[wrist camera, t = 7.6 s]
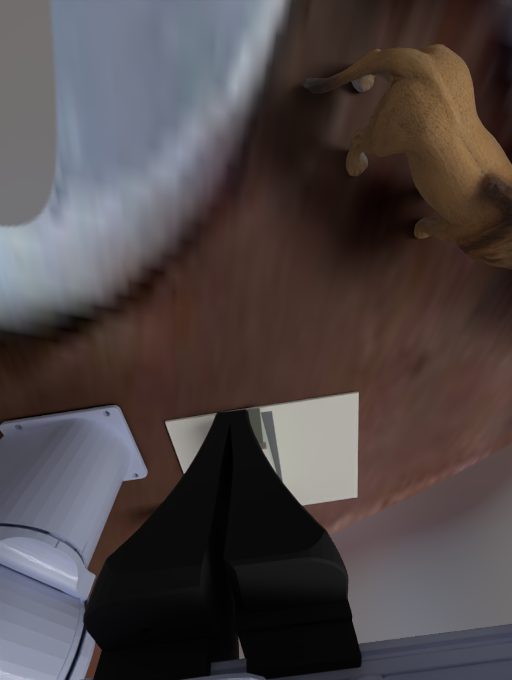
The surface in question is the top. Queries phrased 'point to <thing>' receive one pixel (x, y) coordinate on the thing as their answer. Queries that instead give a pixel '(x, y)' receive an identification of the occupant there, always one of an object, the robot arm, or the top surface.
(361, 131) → the lion figurine
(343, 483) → the card
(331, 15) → the top surface
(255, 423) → the pale green long block
